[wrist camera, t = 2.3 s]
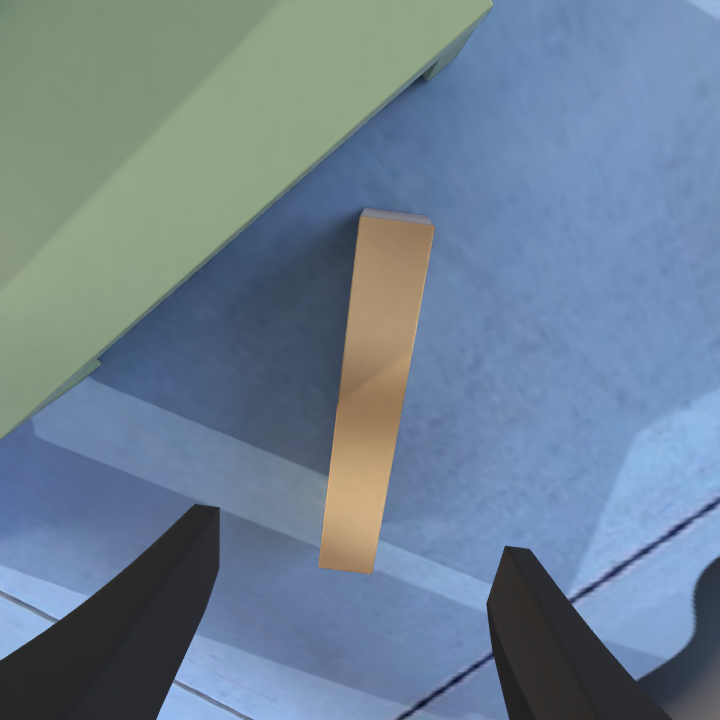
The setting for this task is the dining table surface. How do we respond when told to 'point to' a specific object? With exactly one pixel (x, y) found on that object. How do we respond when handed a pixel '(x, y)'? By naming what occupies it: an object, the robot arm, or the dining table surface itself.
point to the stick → (373, 381)
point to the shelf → (169, 148)
